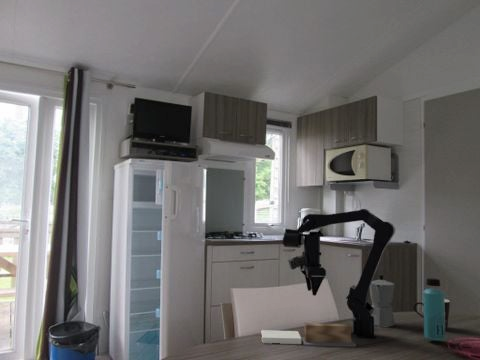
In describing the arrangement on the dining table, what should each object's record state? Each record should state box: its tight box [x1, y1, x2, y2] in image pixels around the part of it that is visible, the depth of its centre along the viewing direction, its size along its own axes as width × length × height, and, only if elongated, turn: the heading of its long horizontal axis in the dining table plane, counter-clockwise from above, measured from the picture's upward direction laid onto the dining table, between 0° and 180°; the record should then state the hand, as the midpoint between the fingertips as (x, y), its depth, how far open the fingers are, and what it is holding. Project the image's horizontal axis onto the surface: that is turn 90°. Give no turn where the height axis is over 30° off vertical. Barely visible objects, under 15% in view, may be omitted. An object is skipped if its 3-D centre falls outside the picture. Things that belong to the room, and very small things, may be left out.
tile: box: [260, 329, 302, 345], centre depth 127 cm, size 12×2×8 cm
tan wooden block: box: [303, 322, 352, 343], centre depth 125 cm, size 14×3×5 cm, turn 90°
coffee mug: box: [413, 298, 451, 331], centre depth 146 cm, size 12×9×10 cm
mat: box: [300, 336, 357, 348], centre depth 125 cm, size 16×7×1 cm, turn 90°
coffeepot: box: [369, 274, 396, 327], centre depth 150 cm, size 15×9×18 cm, turn 151°
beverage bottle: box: [422, 277, 447, 341], centre depth 129 cm, size 6×7×20 cm
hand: (311, 292), depth 143 cm, fingers open, 9 cm apart
